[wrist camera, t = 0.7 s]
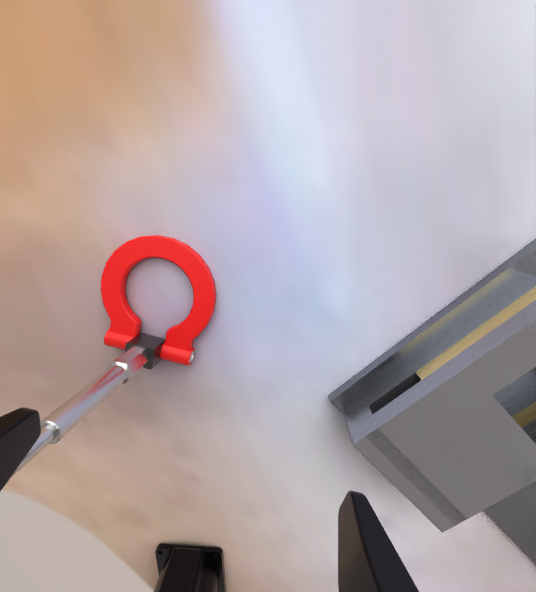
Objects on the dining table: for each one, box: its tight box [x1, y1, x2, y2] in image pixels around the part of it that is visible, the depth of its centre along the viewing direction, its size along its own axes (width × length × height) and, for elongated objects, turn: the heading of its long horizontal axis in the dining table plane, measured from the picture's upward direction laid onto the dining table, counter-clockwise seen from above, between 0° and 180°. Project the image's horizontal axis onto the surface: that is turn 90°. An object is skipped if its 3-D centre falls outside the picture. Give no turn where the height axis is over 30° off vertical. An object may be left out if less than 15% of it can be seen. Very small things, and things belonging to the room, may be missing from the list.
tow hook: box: [11, 235, 216, 477], centre depth 16 cm, size 8×13×9 cm
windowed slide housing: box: [329, 239, 536, 532], centre depth 19 cm, size 22×12×4 cm, turn 134°
